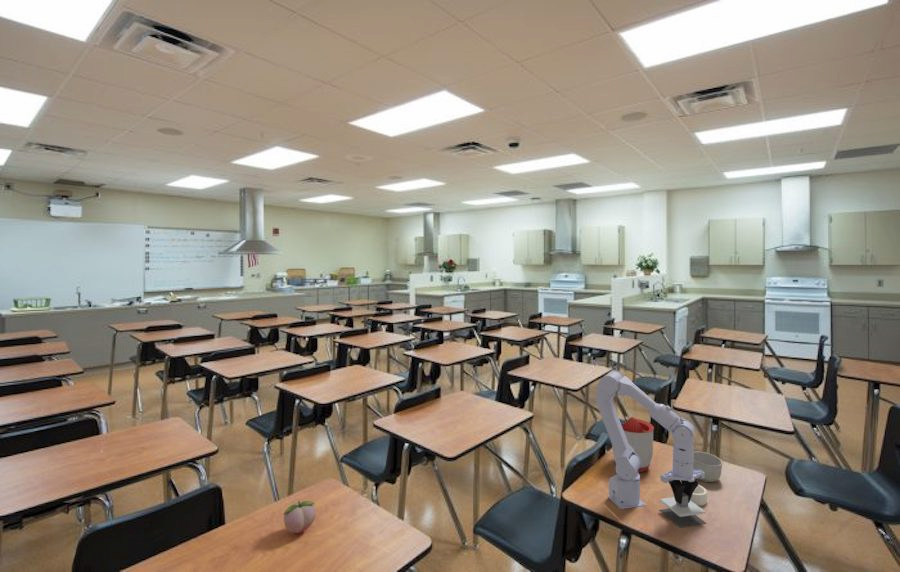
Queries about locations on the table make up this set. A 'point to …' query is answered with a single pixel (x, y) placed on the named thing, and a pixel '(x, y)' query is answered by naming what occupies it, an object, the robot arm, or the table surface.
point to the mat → (682, 519)
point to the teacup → (707, 466)
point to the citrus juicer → (640, 440)
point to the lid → (682, 506)
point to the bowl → (699, 496)
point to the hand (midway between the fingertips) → (682, 501)
